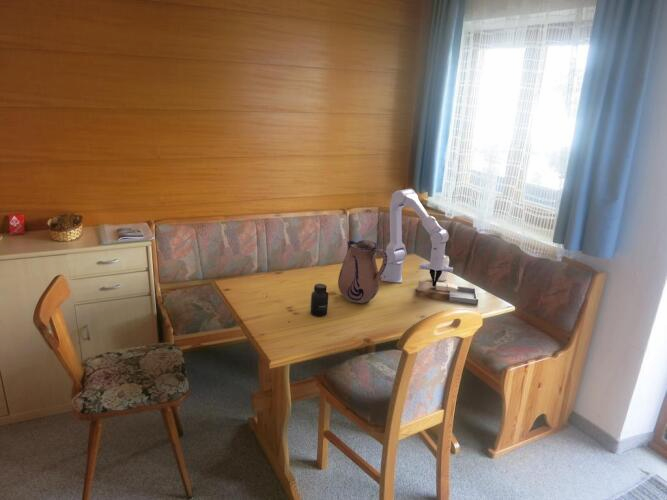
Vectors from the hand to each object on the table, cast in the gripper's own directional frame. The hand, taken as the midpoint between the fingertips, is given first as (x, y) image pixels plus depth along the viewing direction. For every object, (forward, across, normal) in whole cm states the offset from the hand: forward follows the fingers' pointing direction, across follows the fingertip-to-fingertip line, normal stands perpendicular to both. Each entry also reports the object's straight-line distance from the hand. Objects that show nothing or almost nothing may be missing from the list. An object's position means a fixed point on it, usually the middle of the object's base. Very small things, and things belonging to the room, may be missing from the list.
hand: (433, 285), depth 218 cm
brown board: (+4, 0, 0) cm, 4 cm away
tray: (+4, +13, 0) cm, 14 cm away
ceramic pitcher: (+4, -30, -18) cm, 35 cm away
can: (+4, +3, +21) cm, 22 cm away
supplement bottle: (+4, -44, -37) cm, 58 cm away
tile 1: (+1, +3, 0) cm, 3 cm away
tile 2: (+1, +8, 0) cm, 8 cm away
